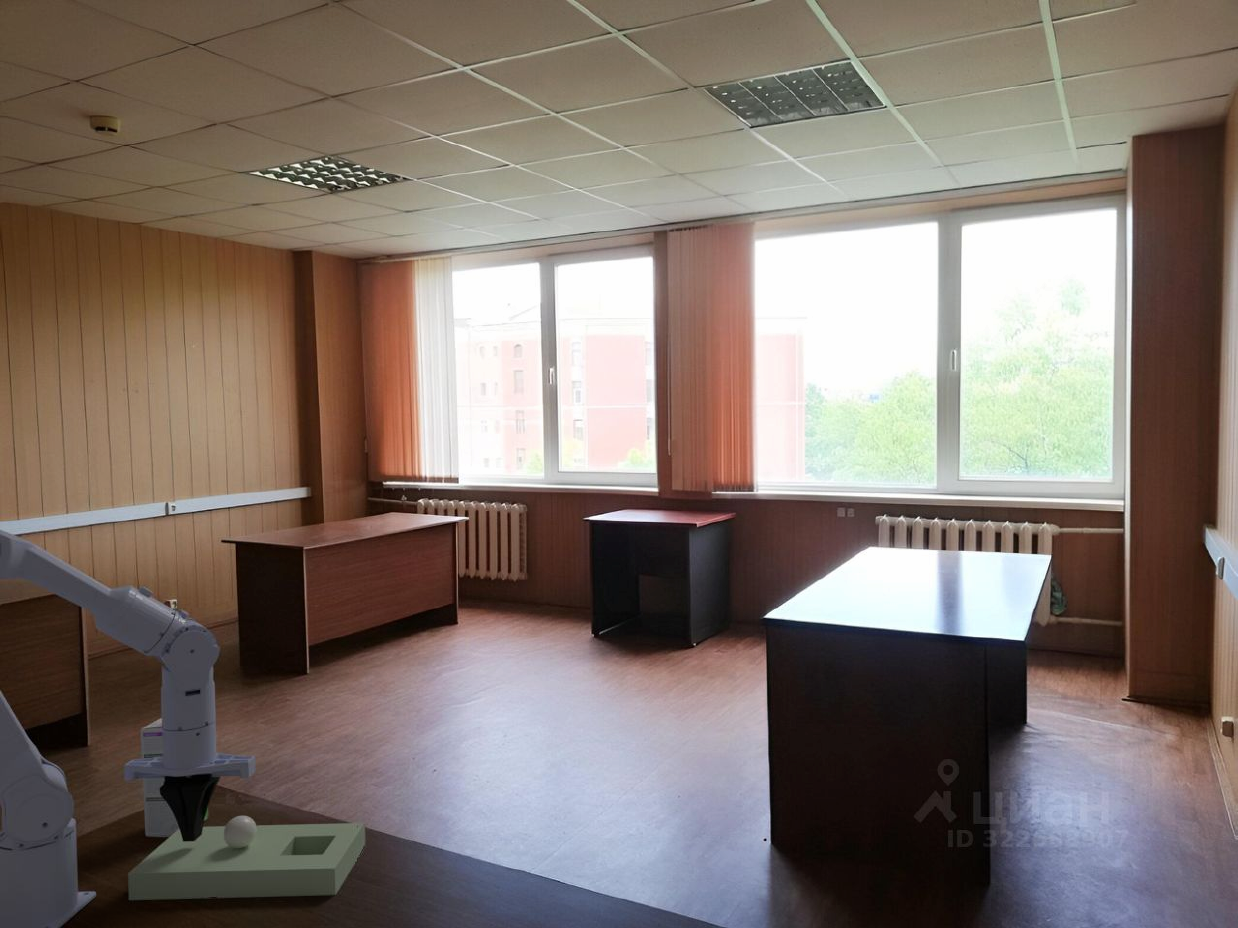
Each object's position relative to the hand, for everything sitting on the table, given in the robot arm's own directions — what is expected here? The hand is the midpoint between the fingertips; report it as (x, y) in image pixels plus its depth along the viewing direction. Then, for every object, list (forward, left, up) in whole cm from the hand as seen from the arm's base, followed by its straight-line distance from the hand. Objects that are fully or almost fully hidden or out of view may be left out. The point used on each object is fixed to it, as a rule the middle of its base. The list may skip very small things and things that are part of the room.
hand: (192, 837), depth 104 cm
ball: (+6, 0, +1) cm, 6 cm away
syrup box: (-8, +13, -4) cm, 16 cm away
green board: (+7, 0, -4) cm, 8 cm away
